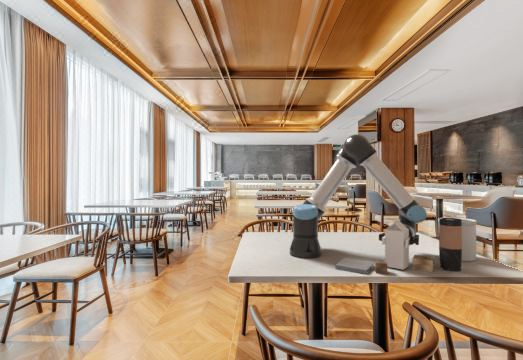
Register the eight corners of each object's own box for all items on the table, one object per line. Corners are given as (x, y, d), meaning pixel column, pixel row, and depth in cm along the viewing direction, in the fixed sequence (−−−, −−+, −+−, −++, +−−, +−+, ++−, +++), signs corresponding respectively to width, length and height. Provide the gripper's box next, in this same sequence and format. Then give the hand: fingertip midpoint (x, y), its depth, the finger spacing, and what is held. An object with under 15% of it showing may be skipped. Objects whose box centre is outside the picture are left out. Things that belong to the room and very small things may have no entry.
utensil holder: (442, 260, 127) (442, 220, 128) (434, 252, 141) (434, 216, 141) (482, 263, 122) (482, 222, 122) (470, 254, 136) (470, 218, 136)
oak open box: (412, 269, 115) (412, 258, 115) (414, 265, 121) (414, 254, 121) (432, 272, 111) (432, 261, 111) (434, 267, 117) (434, 257, 117)
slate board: (335, 268, 115) (335, 264, 115) (345, 261, 125) (345, 258, 125) (366, 274, 108) (366, 270, 108) (373, 266, 118) (373, 262, 118)
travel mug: (465, 272, 110) (465, 220, 110) (443, 271, 112) (443, 219, 112) (456, 266, 118) (456, 217, 118) (436, 265, 119) (435, 217, 120)
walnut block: (376, 273, 110) (376, 262, 110) (374, 270, 113) (374, 260, 113) (387, 274, 109) (387, 263, 109) (385, 271, 112) (385, 260, 112)
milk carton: (408, 266, 117) (409, 219, 117) (403, 270, 112) (403, 221, 112) (390, 262, 122) (391, 218, 122) (384, 266, 117) (384, 219, 117)
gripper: (429, 245, 126) (424, 256, 107) (379, 239, 138) (367, 248, 119) (429, 227, 126) (424, 236, 107) (380, 223, 138) (367, 230, 119)
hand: (394, 242), depth 113 cm, fingers closed on milk carton, 8 cm apart
